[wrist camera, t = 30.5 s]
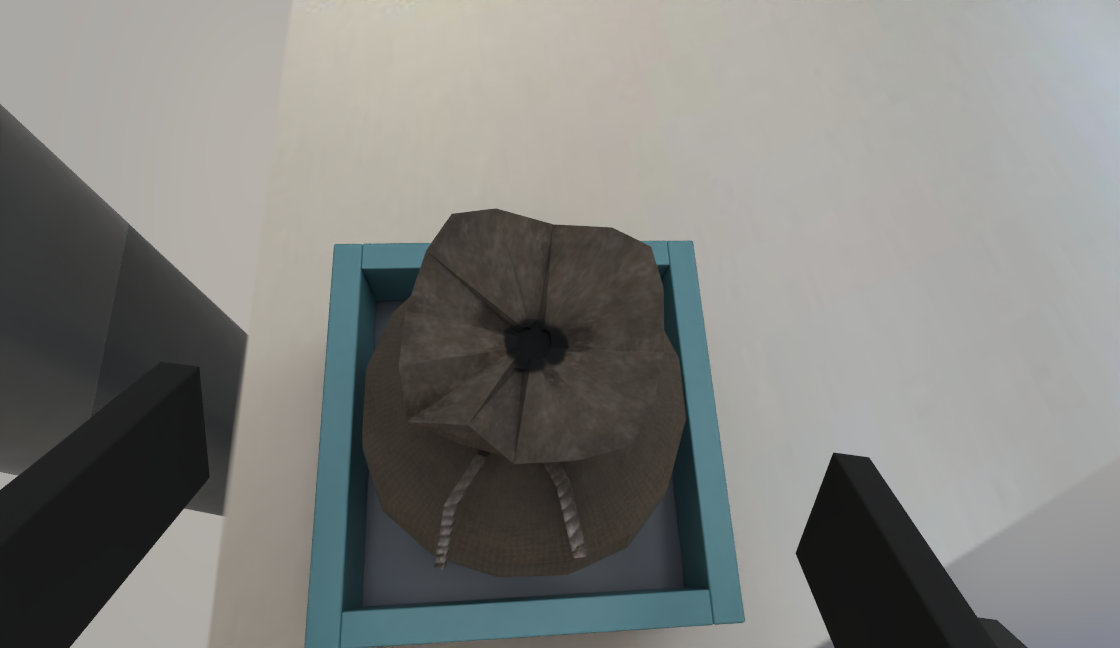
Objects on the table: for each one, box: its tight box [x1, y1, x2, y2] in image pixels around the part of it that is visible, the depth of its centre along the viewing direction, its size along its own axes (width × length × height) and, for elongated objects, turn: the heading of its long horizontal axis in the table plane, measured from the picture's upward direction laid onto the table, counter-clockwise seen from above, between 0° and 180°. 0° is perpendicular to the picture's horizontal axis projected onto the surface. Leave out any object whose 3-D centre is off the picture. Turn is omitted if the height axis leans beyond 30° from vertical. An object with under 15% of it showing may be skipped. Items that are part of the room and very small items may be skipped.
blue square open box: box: [305, 241, 745, 648], centre depth 26 cm, size 13×13×9 cm
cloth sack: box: [362, 209, 686, 577], centre depth 19 cm, size 10×10×12 cm
